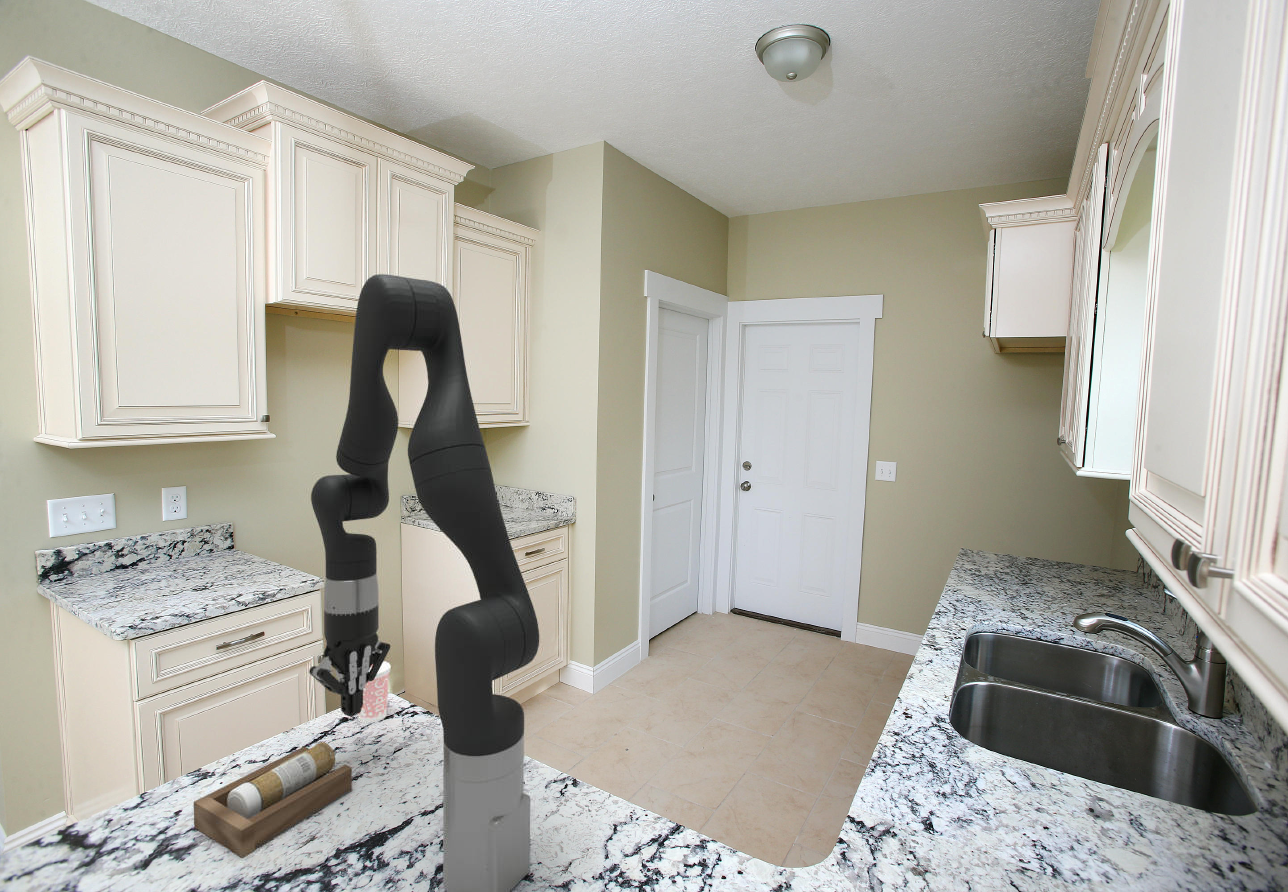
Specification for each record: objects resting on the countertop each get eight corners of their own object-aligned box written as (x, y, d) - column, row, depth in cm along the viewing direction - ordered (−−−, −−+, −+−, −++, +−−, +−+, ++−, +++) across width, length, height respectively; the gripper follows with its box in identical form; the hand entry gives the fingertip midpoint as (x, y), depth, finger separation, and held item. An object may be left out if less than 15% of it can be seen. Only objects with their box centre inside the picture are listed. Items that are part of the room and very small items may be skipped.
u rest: (351, 790, 87) (351, 767, 87) (242, 857, 74) (241, 830, 74) (304, 768, 92) (304, 746, 92) (194, 827, 79) (193, 801, 79)
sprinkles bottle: (312, 746, 93) (220, 795, 80) (329, 736, 91) (239, 785, 79) (323, 775, 92) (233, 829, 79) (341, 765, 90) (252, 819, 78)
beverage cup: (359, 729, 104) (358, 649, 103) (349, 715, 108) (348, 639, 107) (395, 717, 108) (395, 641, 107) (384, 704, 112) (384, 631, 111)
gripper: (328, 621, 84) (329, 740, 85) (403, 596, 96) (404, 701, 97) (294, 612, 88) (295, 727, 89) (371, 589, 100) (372, 690, 101)
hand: (352, 713), depth 93 cm, fingers closed
